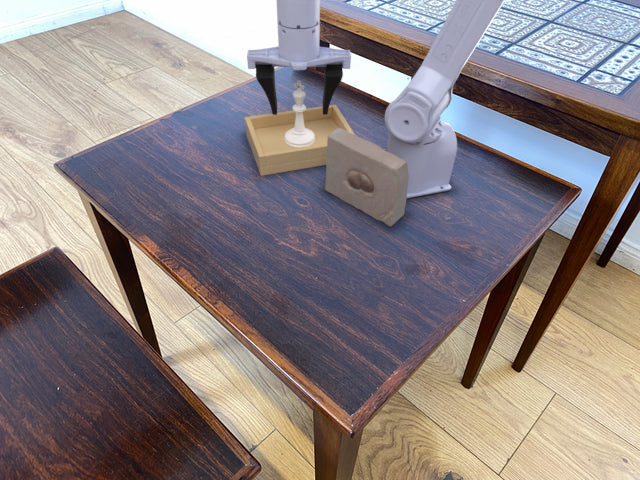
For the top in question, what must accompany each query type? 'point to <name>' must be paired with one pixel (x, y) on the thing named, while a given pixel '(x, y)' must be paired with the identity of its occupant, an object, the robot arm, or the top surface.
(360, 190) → the fossil
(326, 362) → the top surface
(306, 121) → the wooden tray
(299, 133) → the chess piece
